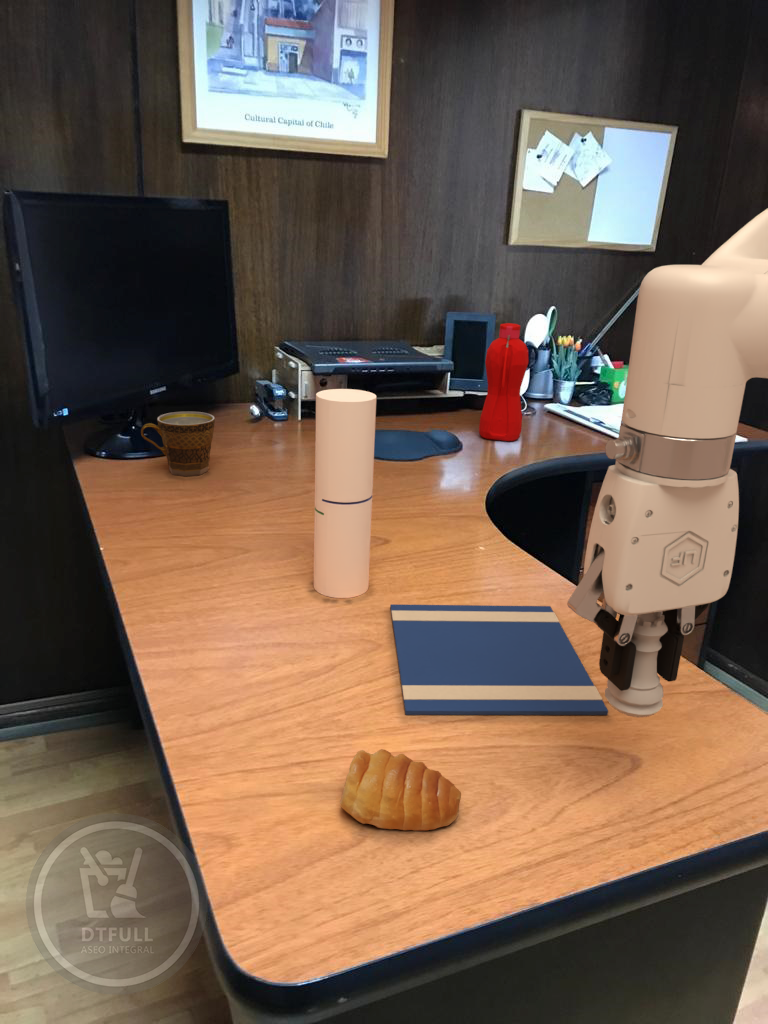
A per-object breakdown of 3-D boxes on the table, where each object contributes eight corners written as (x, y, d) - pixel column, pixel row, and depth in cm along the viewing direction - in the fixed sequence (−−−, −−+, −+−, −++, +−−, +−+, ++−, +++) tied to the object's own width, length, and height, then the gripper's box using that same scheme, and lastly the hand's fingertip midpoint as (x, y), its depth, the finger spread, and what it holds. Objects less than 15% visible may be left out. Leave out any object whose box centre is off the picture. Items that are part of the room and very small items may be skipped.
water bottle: (475, 441, 170) (486, 325, 161) (481, 429, 180) (490, 319, 171) (518, 445, 168) (530, 328, 159) (521, 433, 178) (533, 322, 169)
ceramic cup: (209, 461, 148) (207, 409, 144) (222, 476, 140) (220, 422, 136) (139, 467, 143) (135, 414, 139) (148, 483, 134) (144, 427, 131)
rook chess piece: (666, 697, 62) (682, 608, 59) (656, 726, 59) (673, 634, 56) (610, 681, 64) (623, 595, 61) (597, 709, 60) (610, 619, 58)
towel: (549, 609, 96) (550, 605, 96) (607, 715, 76) (608, 710, 76) (390, 607, 95) (390, 603, 95) (405, 715, 75) (405, 709, 74)
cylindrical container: (349, 603, 96) (356, 404, 87) (302, 588, 99) (304, 395, 90) (378, 582, 102) (387, 394, 93) (333, 569, 105) (337, 386, 96)
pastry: (463, 789, 65) (467, 752, 64) (452, 849, 59) (456, 809, 57) (355, 769, 67) (356, 732, 65) (334, 825, 61) (335, 786, 59)
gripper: (601, 477, 48) (569, 723, 55) (809, 457, 53) (757, 685, 60) (541, 444, 55) (519, 667, 61) (731, 430, 60) (692, 637, 66)
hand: (637, 674), depth 60 cm, fingers closed on rook chess piece, 3 cm apart
